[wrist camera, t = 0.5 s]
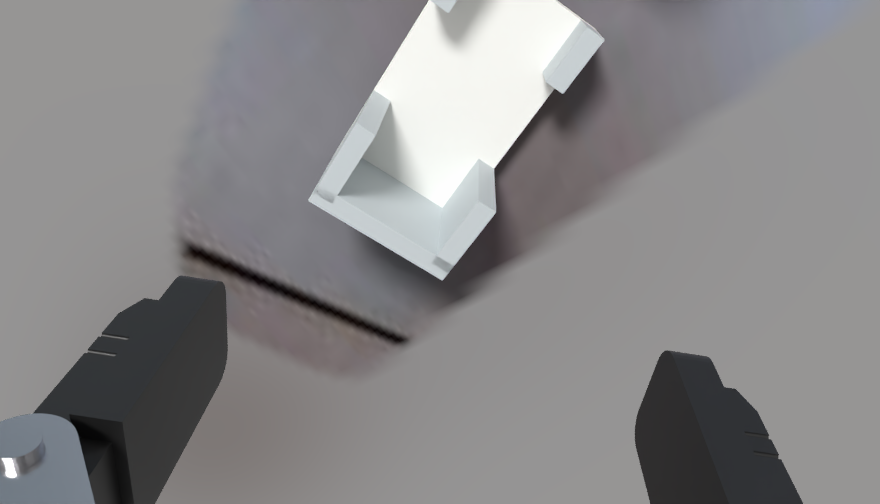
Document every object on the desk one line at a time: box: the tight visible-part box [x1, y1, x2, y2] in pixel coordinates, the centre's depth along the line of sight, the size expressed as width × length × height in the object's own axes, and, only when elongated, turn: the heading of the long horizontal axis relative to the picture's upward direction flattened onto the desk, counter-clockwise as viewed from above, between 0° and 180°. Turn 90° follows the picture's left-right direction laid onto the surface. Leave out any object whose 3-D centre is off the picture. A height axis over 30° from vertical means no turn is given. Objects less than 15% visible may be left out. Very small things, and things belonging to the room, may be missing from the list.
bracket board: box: [308, 0, 604, 281], centre depth 31 cm, size 13×8×6 cm, turn 147°
